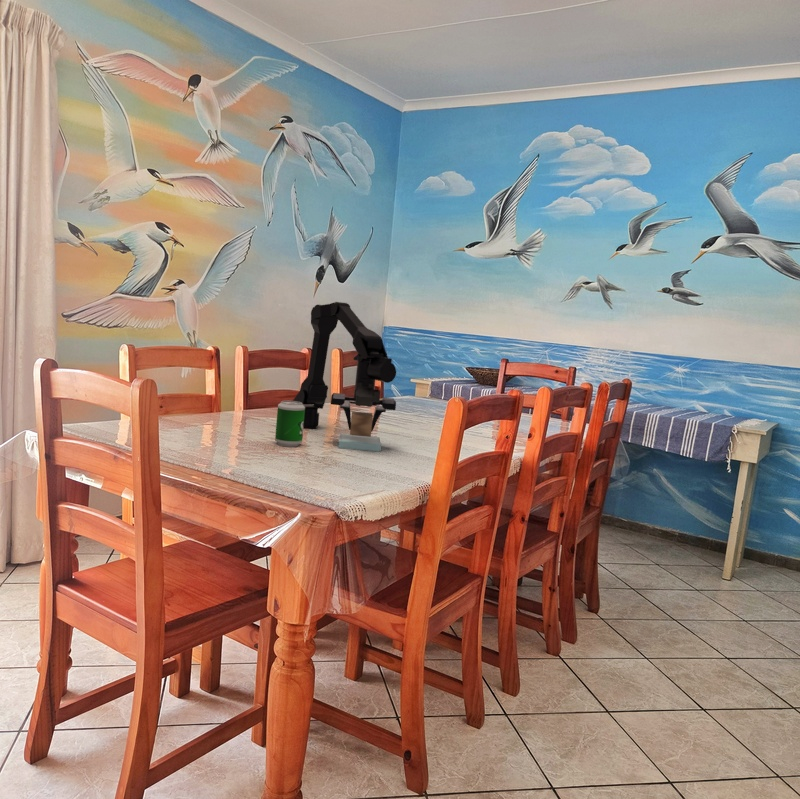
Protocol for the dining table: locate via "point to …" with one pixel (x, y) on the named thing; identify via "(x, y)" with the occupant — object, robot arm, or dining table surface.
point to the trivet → (359, 442)
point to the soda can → (290, 423)
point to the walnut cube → (361, 424)
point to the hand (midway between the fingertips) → (360, 430)
